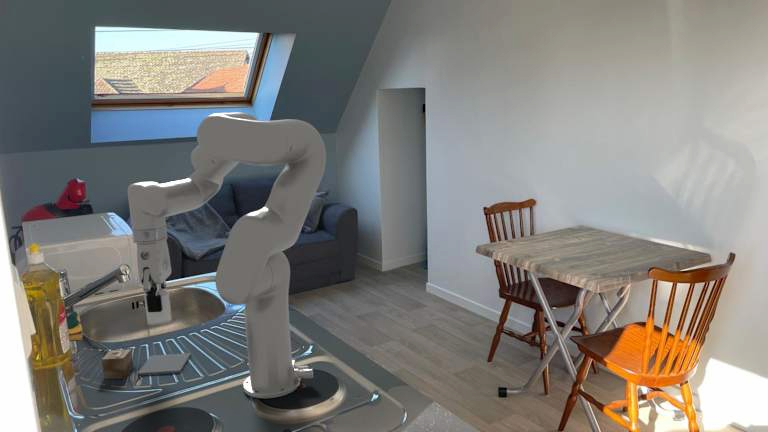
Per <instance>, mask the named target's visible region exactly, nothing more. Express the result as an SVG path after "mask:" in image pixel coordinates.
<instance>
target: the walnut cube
mask: <svg viewBox="0 0 768 432" xmlns="http://www.w3.org/2000/svg"><path fill="white" fill-rule="evenodd" d="M101 363H102V364H101V365H102V372H103V378H104V380H107V379H110V380H111V379H122V378H123V379H124V378H127V377H128V376H129V375H130V373H131V372H132V371H133V370H134V361H133V354H132V349H115V350H109V351H108V352H107V353H106V354H105V356H103V358H101Z"/></svg>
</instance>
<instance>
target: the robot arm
mask: <svg viewBox="0 0 768 432" xmlns="http://www.w3.org/2000/svg"><path fill="white" fill-rule="evenodd" d="M196 140H197V143H198V145H197V146H195V148H193V150H192V152H191V155H190V161H191V165H192V166H193V168H194V170H195V171H194V172H193V173H192V174H190V176H188V177H187V178H185V179H178V180H174V181H169V182H163V183H159V182H156V181H139V182H135V183H132V184H130V185H128V187H127V197H128V198H127V199H128V208H129V215H130V216H129V217H130V223H131V225H130V226H131V231H132V239H133V244H136V260H137V261H136V262H137V272H138V280H139V283H140V285H142V289H143V292H145V293H146V299H147V307H148V312H161V311H162V302H161V295H159V284H161V288H163V289H166V290H168V289H167V281H166V279H168V278H169V277H170V276H171V274H172V272H173V271H172V264H171V258H170V250H169V245H168V241H167V240H168V231H167V230H168V229H167V222H166V217H172V216H175V215H179V214H183V213H186V212H191V211H194V210H196V209H199V208H200V207H202V206H204V205H205V204H206V203H208V202H209V201H210V200H211V199H212V198H213V197H214V196H215V195H216V194H217V193H218V192H219V191H220V190H221V188H222V185H223V183H224V177H226V175H228V174H229V173H230V172H231V171H232V170H233V169H234V168H235V167H236V166H237V165H238V164H240V163H241V164H246V165H250V166H258V167H271V166H275V165H281V164H285V165H284V168H283V169H282V171H281V172H280V174H278V177H277V178H276V180H275V181H274V183H273V186H272V188H271V191H270V194H269V197H268V199H267V201H266V203H265V205H264V206H263V207H262V208H260V209H258V210H255V211H251V212H249V213H247V214H244V215H243V216H241V217H240V218H238V219H237V220H236V222H235V223H234V225H233V226H232V228H231V230H230V232H229V234H228V236H227V240H226V242H225V246H224V248H223V251H222V254H221V257H220V259H219V263H218V266H217V269H216V273H215V279H214V281H215V289H216V291H217V293H218V296H219V297H220V298H221V299H222V301H224V302H225V303H227V304H229V305H233V306H240V305H244V324H245V325H244V326H245V337H246V348H247V360H248V372H249V376H248V377H247V378H246V379H245V380H244V382H243V391H244V392H245V394H246V395H248V396H250V397H252V398H257V399H275V398H280V397H283V396H287V395H289V394H291V393H293V392H294V391H296V390H297V389H298V388H299V387H300V385H301V383H300V381H301V379H312V378H314V369H313V368H309V365H302V366H298V365H296V361H295V360H296V359H293V353H292V341H291V339H292V338H291V329H290V326H291V325H290V312H289V309H290V308H289V291H290V289H289V288H290V279H291V267H290V262H289V259H288V257H287V256H286V254H285V253H284V251H285V250H288V249H289V248H291V247H293V246H294V245H295V243H297V240H298V238H299V237H300V234H301V231H302V228H303V226H304V224H305V221H306V218H307V217H308V214H309V210H310V208H311V205H312V202H313V200H314V197H315V195H316V192H317V191H318V188H319V186H320V184H321V181H322V179H323V176H324V172H325V171H326V170H325V169H326V166H327V165H326V164H327V150H326V146H325V142H324V140H323V137H322V135H321V134H320V133H319V131H318V130H317V129H316V128H315V127H314V126H313V125H312V124H311V123H309V122H308V121H305V120H302V119H301V120H300V119H293V118H292V119H278V120H277V119H276V120H262V121H261V120H258V119H257V117H255V116H254V115H252V114H250V113H246V112H242V111H241V112H240V111H239V112H238V111H237V112H236V111H235V112H220V113H219V112H217V113H213V114H210V115H207V116H206V117H205V118H204V119H202V121H201V122H200V123H199V125H198V128H197V132H196ZM151 281H154V282H155V283H151ZM151 286H155V289H154V287H151ZM145 293H144V294H145ZM298 386H299V387H298ZM297 387H298V388H297Z"/></svg>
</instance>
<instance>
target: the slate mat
mask: <svg viewBox="0 0 768 432" xmlns="http://www.w3.org/2000/svg"><path fill="white" fill-rule="evenodd" d="M191 353H192V352H186V353H170V354H156V355H154V354H153V355H150V356H149V358H147V360H146V361H145V363H144V364H143V365H142V367H141V368H140V369H139V370H138V372H137V373H136V375H137V376H152V375H153V376H154V375H164V374H165V375H166V374H167V375H168V374H180V373H181V372H183V369H184V368H185V366H186V365H187V363H188V361H189V359H190V358H191V356H192V354H191Z"/></svg>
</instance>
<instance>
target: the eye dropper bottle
mask: <svg viewBox="0 0 768 432" xmlns="http://www.w3.org/2000/svg"><path fill="white" fill-rule="evenodd" d="M151 283H155V282H154V281H151ZM151 287H154V289H155V286H151ZM166 289H167V288H165V289H163V288H161V284H159V295H161V302H162V311H161V312H148V307H147V299H146V293H144V295H143V297H144V298H143V299H144V307H145V308H144V309H145V315H146V323H147V325H148V326H157V325H158V326H160V325H163V324H167V323H170V322H172V320H173V319H172V318H173V317H172V310H171V301H170V293H169V290H168V289H167V290H166Z"/></svg>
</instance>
